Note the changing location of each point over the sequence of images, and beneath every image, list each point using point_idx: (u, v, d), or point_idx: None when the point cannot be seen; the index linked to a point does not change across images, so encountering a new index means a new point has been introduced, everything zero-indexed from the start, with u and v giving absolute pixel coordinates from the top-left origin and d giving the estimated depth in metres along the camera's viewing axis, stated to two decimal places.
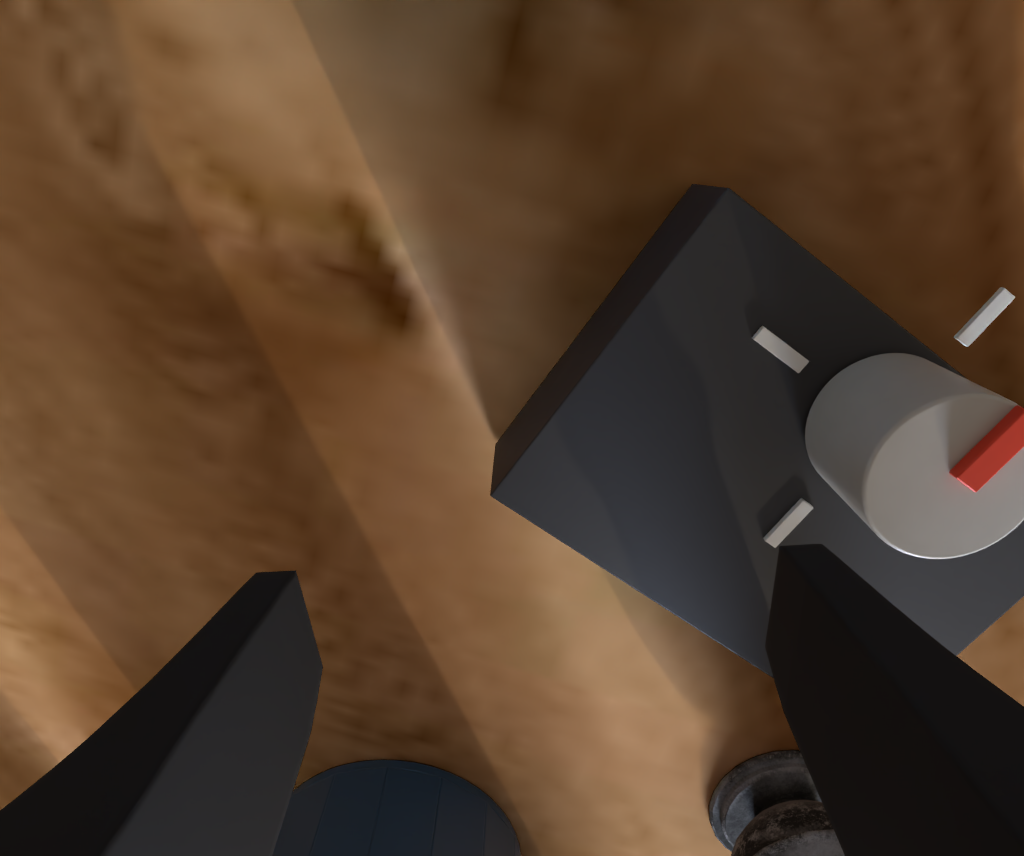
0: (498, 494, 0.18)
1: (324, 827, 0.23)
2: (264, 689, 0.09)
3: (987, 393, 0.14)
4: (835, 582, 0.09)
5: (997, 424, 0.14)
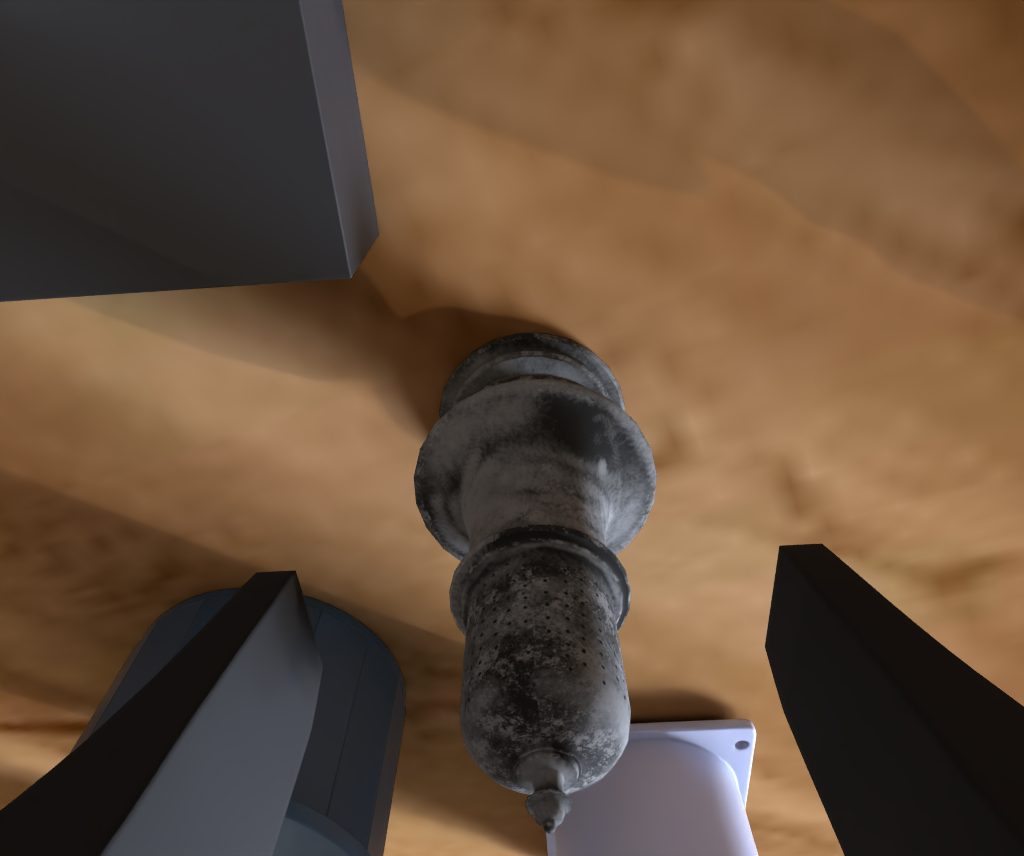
0: None
1: (103, 698, 0.22)
2: (264, 689, 0.09)
3: None
4: (835, 582, 0.09)
5: None
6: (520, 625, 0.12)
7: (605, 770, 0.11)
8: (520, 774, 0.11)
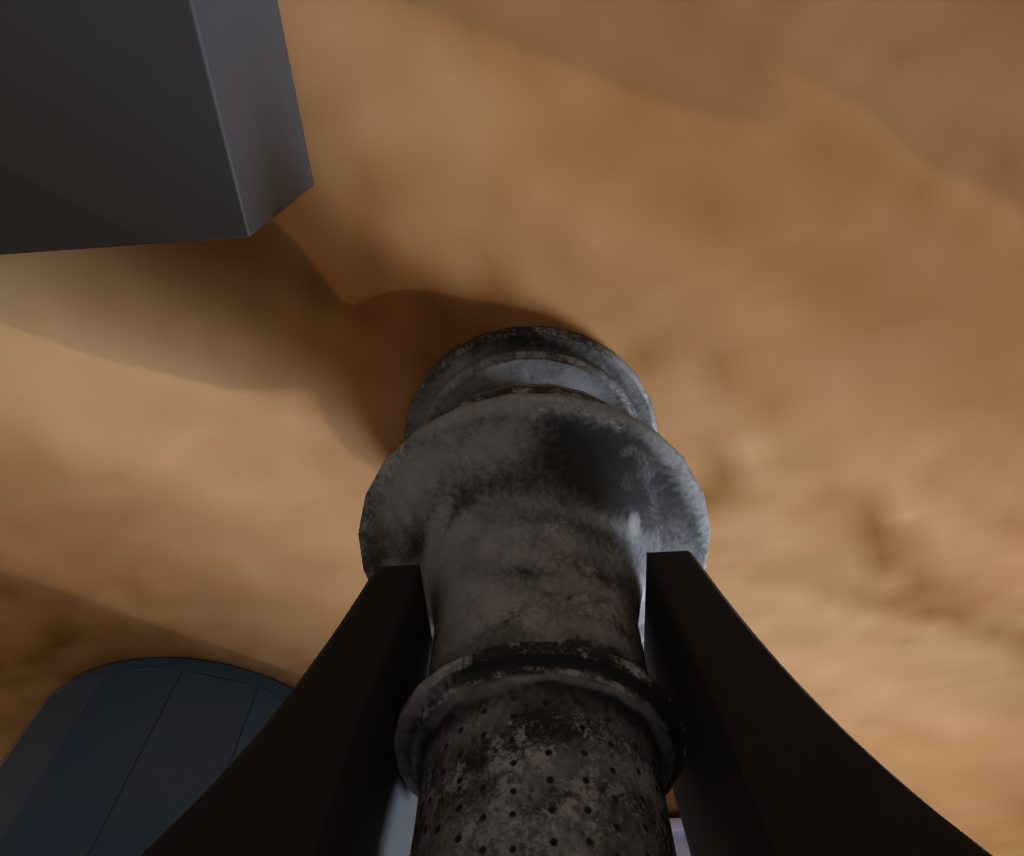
0: None
1: None
2: (404, 682, 0.09)
3: None
4: (686, 588, 0.09)
5: None
6: None
7: None
8: None
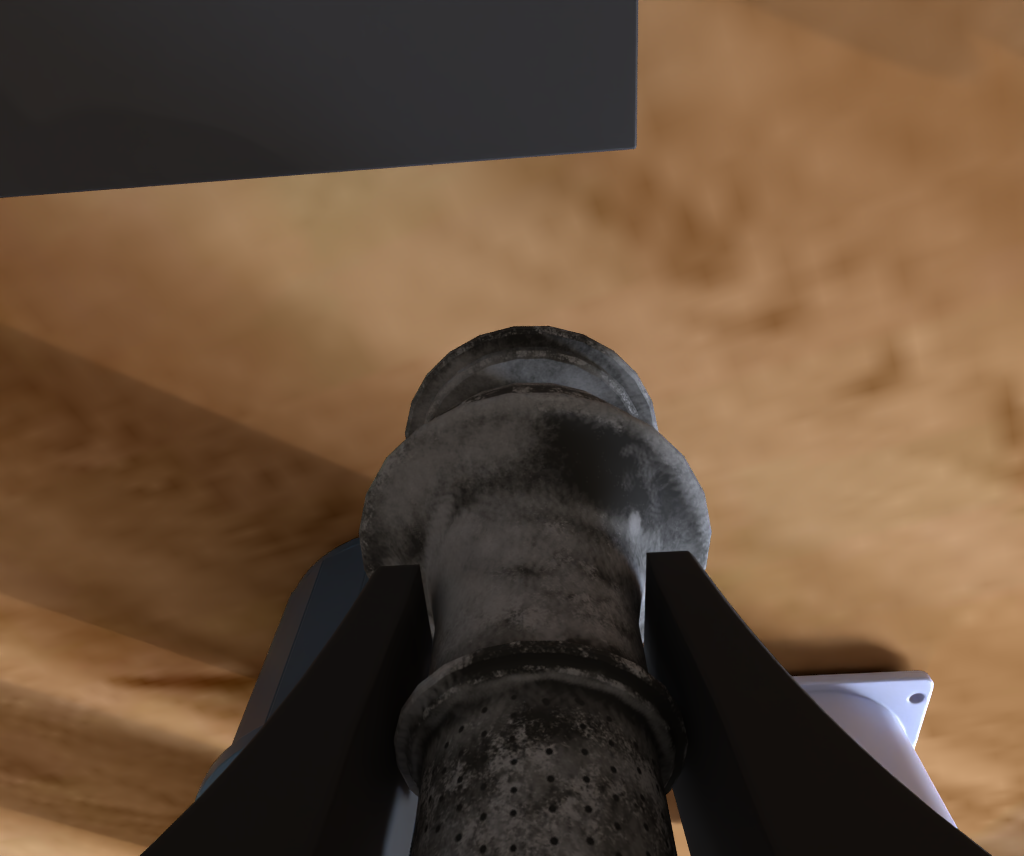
0: None
1: (274, 641, 0.21)
2: (404, 682, 0.09)
3: None
4: (685, 589, 0.09)
5: None
6: None
7: None
8: None
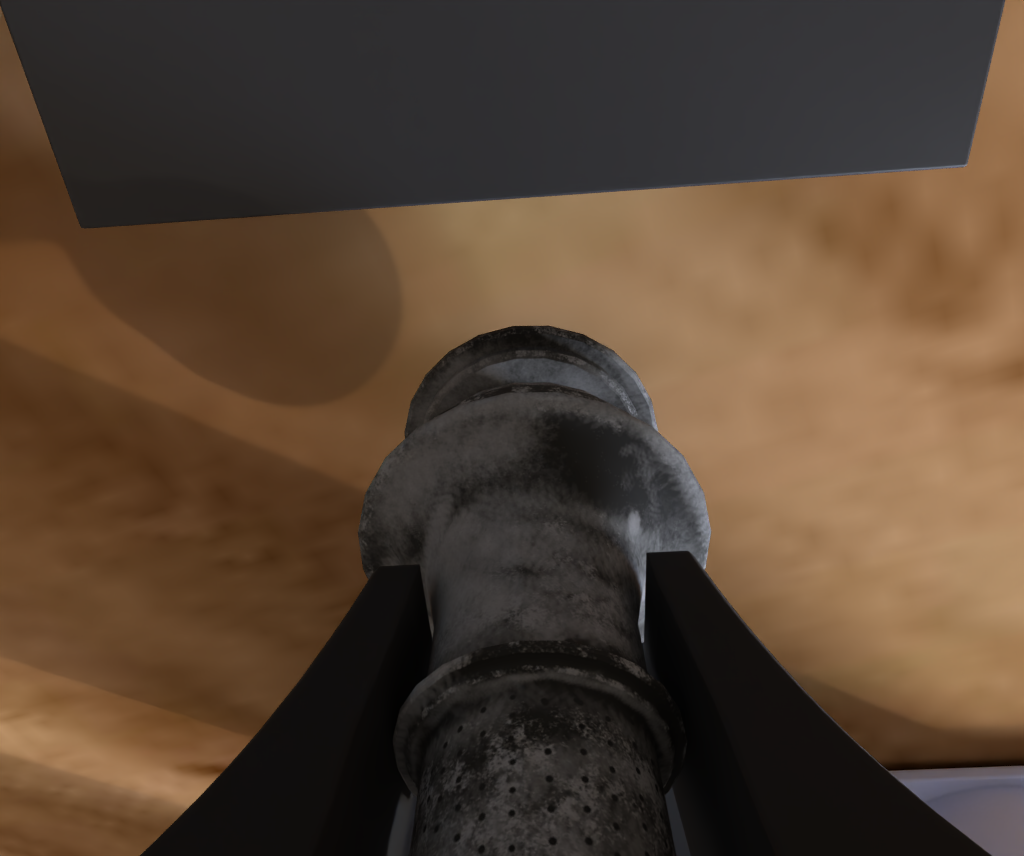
0: (86, 217, 0.11)
1: None
2: (404, 682, 0.09)
3: None
4: (685, 589, 0.09)
5: None
6: None
7: None
8: None
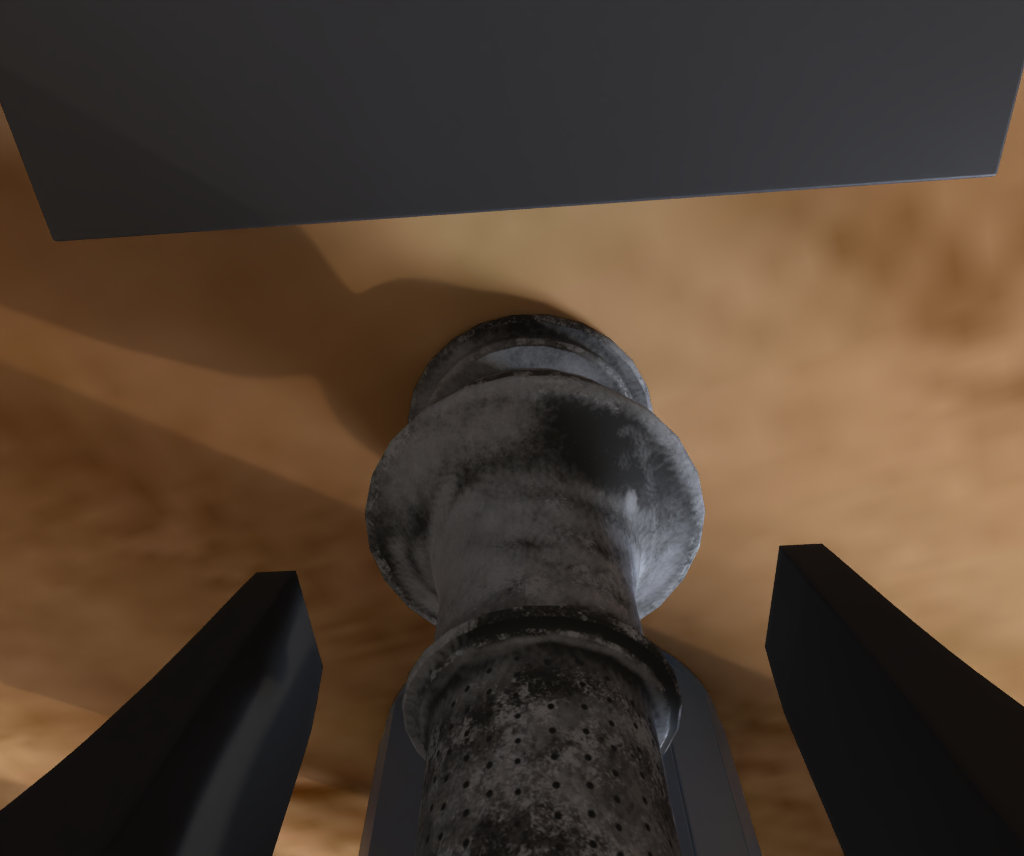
0: (59, 229, 0.10)
1: (387, 771, 0.17)
2: (264, 689, 0.09)
3: None
4: (835, 582, 0.09)
5: None
6: (507, 800, 0.07)
7: None
8: None
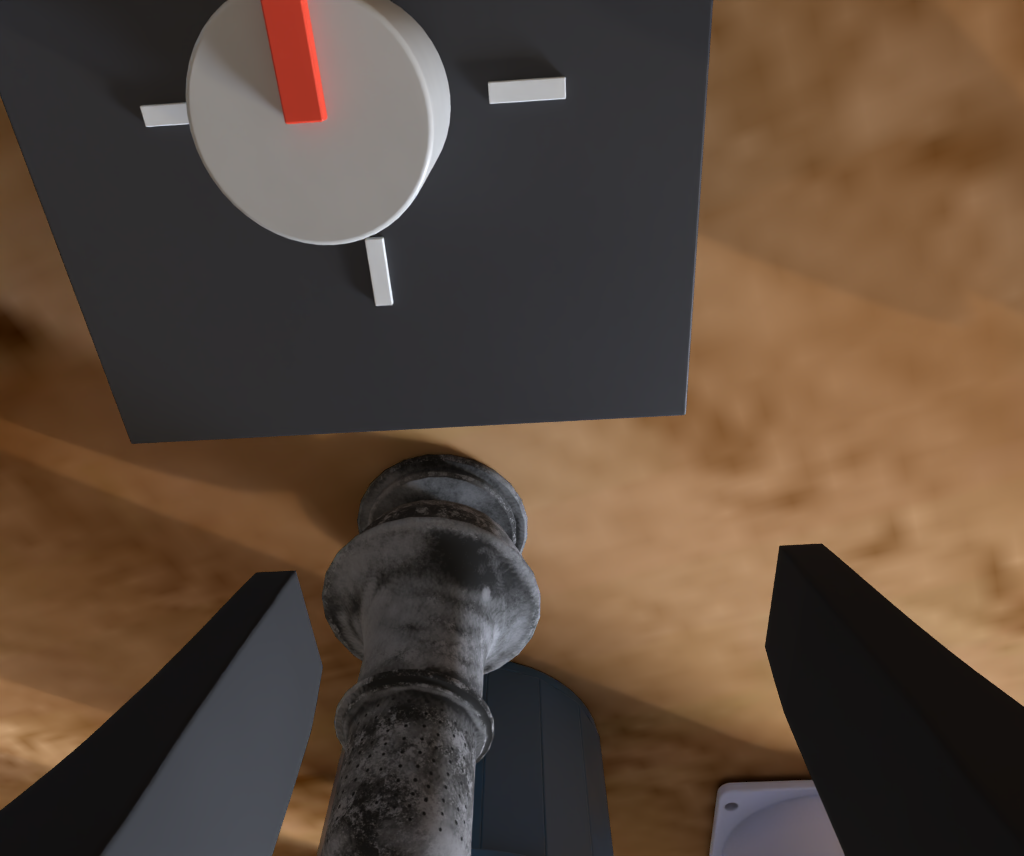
0: (135, 438, 0.17)
1: None
2: (264, 689, 0.09)
3: None
4: (835, 581, 0.09)
5: (273, 24, 0.10)
6: (375, 773, 0.14)
7: None
8: None
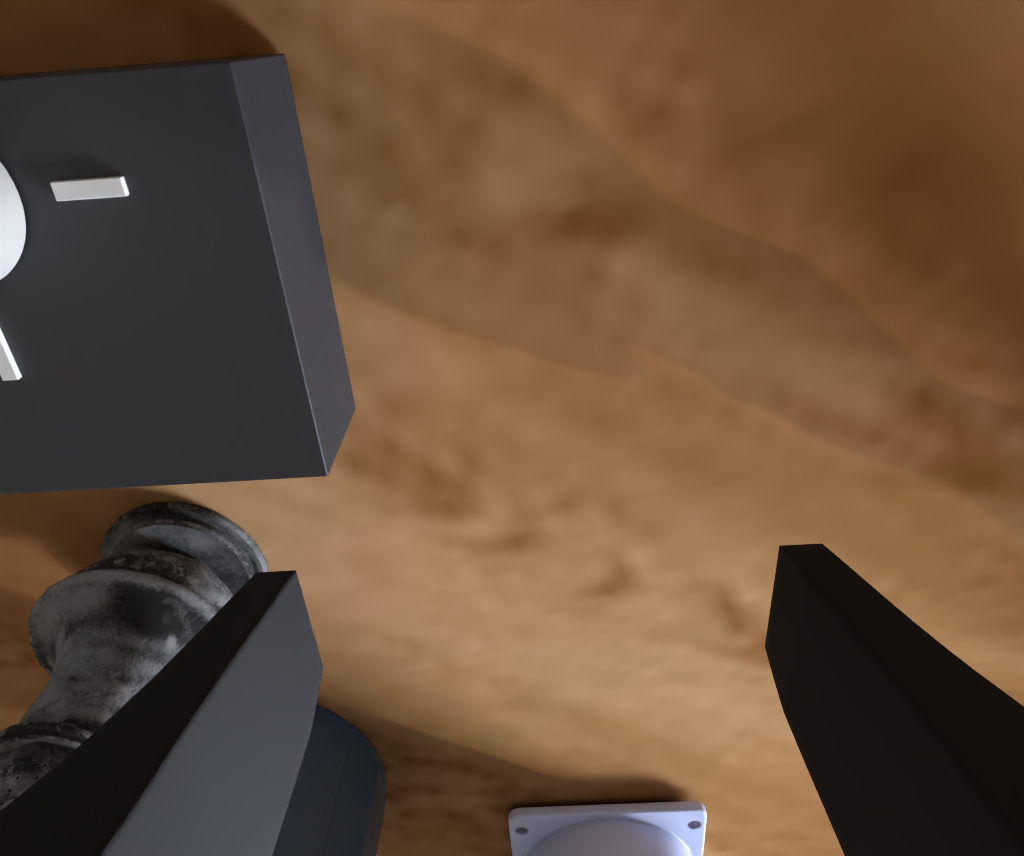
0: None
1: None
2: (264, 689, 0.09)
3: None
4: (836, 582, 0.09)
5: None
6: None
7: None
8: None
